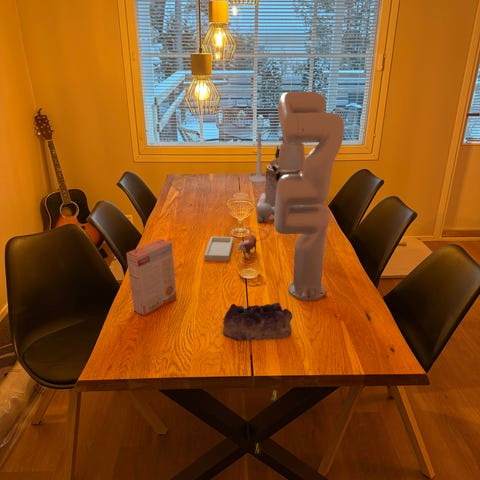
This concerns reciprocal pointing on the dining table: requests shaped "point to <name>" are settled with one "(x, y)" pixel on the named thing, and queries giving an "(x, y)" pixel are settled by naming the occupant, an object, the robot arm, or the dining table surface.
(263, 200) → the cookie jar
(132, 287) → the cracker box
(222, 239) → the tray
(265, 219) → the chubby cartoon animal
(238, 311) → the geode
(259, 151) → the candlestick
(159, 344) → the dining table surface
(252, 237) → the bull figurine
